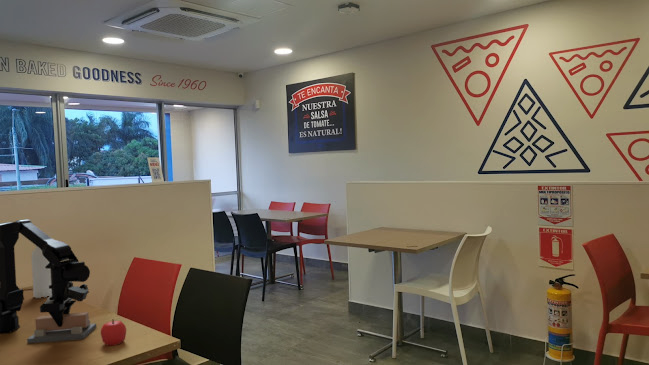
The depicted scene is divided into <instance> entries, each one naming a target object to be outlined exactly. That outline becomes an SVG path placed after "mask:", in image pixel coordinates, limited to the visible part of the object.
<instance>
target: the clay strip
mask: <svg viewBox="0 0 649 365" xmlns="http://www.w3.org/2000/svg"><path fill="white" fill-rule="evenodd" d="M89 320H90V317H89V312H88V311H85V312H73V313H71V312H70V313H69V314H63V323H62V326H61V327H58V325H57V324H56V322H55V321H54V319H53V318H52V316H51V315H50V314H49V315H39V316H38V317H36V318H35V319H34V321H35V330H36V329H46V331H54V330H65V329H71V328H72V327H79V326H82V328H86V327H87V326H88V325H89Z"/></svg>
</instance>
